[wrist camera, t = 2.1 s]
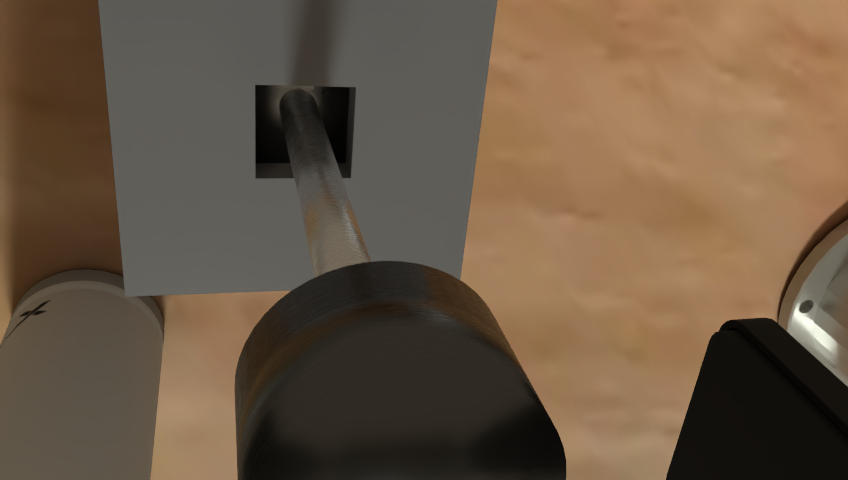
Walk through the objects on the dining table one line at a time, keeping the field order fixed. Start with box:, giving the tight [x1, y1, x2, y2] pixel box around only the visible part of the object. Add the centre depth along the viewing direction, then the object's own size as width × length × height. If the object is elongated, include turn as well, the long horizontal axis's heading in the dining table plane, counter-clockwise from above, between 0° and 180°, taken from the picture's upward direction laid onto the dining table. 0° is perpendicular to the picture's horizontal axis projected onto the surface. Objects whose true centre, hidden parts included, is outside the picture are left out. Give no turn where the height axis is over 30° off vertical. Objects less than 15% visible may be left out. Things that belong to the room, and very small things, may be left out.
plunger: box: [235, 85, 566, 480], centre depth 15 cm, size 6×6×15 cm
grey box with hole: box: [98, 0, 497, 297], centre depth 25 cm, size 9×9×13 cm
